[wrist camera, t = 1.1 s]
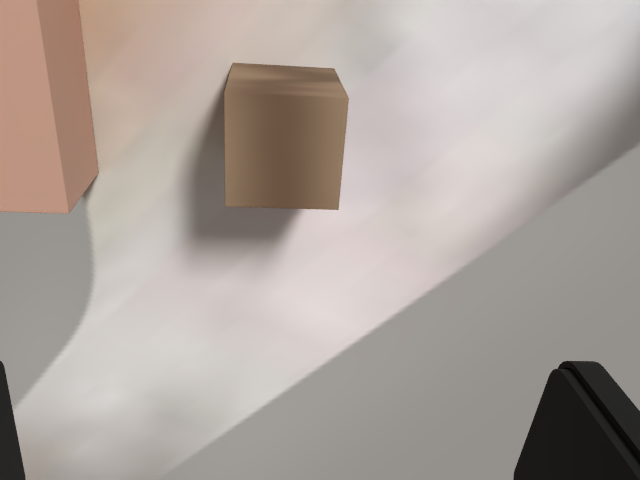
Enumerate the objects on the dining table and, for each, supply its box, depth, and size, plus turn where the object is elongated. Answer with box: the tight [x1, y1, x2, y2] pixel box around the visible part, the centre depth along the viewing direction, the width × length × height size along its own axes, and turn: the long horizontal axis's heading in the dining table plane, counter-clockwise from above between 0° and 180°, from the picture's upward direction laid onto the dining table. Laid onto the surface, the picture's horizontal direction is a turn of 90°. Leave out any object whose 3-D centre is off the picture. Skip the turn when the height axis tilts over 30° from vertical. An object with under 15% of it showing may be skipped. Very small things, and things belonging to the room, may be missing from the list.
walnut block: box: [224, 63, 349, 210], centre depth 26 cm, size 5×5×6 cm
